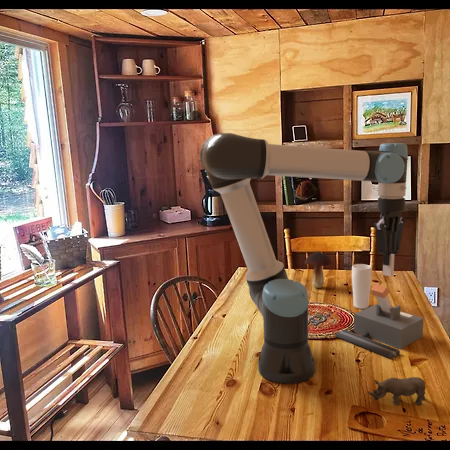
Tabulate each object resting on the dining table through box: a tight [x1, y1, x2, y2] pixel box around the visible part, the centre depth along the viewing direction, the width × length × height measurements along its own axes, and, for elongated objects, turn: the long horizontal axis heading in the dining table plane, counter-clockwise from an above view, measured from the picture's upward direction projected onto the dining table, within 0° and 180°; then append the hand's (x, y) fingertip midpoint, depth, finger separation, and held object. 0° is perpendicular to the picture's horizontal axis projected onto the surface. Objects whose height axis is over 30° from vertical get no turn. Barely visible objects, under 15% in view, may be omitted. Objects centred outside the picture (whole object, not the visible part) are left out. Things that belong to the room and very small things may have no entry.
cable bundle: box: [335, 329, 401, 359], centre depth 131 cm, size 8×19×1 cm, turn 38°
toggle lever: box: [370, 283, 394, 315], centre depth 133 cm, size 2×4×11 cm
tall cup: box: [351, 263, 373, 310], centre depth 158 cm, size 7×7×15 cm
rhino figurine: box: [367, 376, 427, 407], centre depth 102 cm, size 4×14×6 cm, turn 90°
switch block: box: [353, 303, 424, 350], centre depth 136 cm, size 12×16×10 cm
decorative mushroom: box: [304, 251, 333, 289], centre depth 180 cm, size 11×11×15 cm
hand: (388, 274), depth 133 cm, fingers closed
